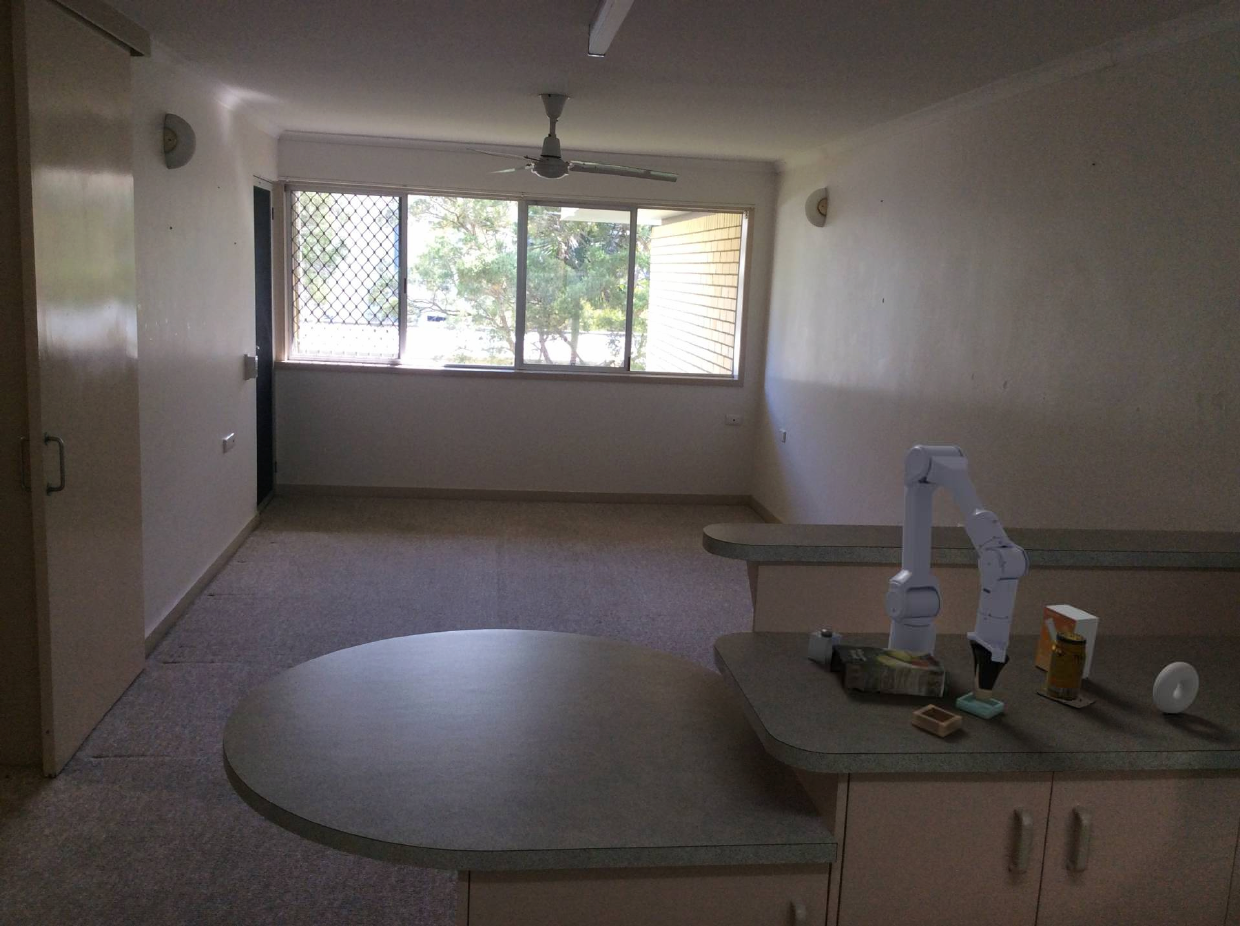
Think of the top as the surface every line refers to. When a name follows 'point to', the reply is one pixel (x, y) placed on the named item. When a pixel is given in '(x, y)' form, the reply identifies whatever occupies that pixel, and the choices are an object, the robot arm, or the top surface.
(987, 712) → the tray
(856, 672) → the juice carton
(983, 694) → the dowel
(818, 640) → the stop block
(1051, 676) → the condiment
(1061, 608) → the small box
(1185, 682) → the grey round disc
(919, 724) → the socket
